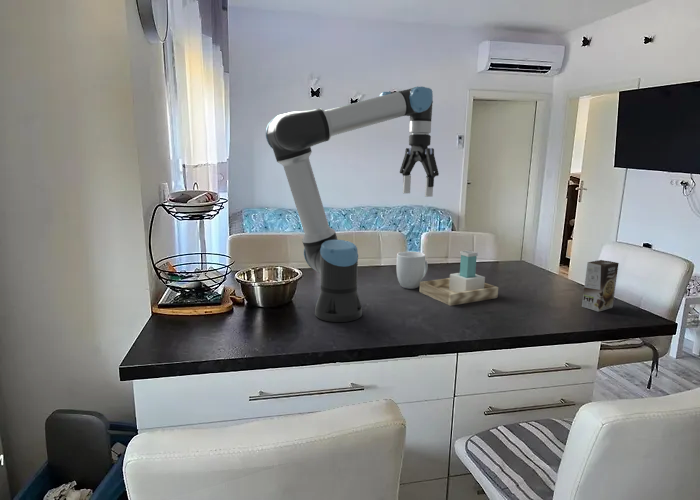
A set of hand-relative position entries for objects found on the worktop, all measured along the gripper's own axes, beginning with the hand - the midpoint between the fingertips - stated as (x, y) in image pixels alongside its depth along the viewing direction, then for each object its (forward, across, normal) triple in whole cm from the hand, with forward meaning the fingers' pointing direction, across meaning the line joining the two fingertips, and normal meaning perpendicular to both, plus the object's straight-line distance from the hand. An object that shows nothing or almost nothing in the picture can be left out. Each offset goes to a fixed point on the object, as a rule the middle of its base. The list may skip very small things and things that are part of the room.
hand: (417, 195), depth 170 cm
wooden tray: (+37, -9, -14) cm, 40 cm away
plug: (+33, -9, -18) cm, 38 cm away
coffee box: (+37, -41, -49) cm, 74 cm away
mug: (+37, +8, -5) cm, 38 cm away
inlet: (+36, -9, -18) cm, 41 cm away
